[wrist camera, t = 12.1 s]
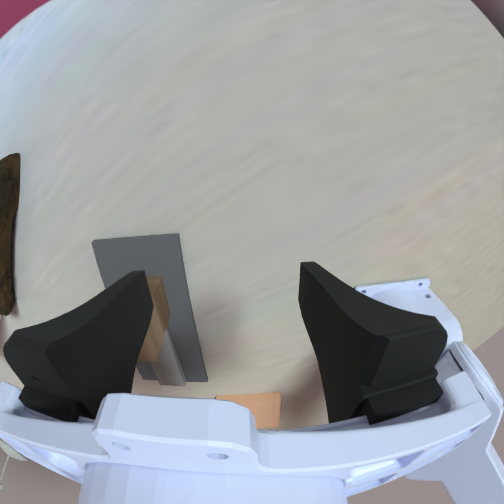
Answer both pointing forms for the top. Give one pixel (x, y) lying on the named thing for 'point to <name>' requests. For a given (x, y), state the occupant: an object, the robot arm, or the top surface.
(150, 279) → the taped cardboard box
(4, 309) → the hand tool
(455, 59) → the top surface
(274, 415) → the tile
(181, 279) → the tool mat
